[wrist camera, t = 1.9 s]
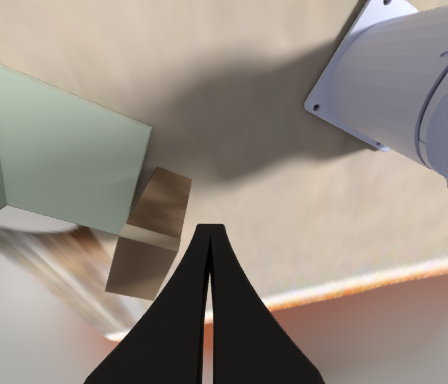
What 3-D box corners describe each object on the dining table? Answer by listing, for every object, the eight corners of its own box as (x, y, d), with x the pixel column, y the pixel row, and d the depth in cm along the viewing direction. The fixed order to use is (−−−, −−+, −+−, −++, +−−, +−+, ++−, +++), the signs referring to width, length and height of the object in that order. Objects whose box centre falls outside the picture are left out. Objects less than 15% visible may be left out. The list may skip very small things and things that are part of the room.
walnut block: (192, 179, 20) (178, 251, 13) (174, 222, 23) (153, 301, 16) (156, 166, 19) (118, 235, 12) (142, 212, 22) (104, 291, 15)
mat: (152, 127, 17) (146, 133, 16) (125, 231, 24) (118, 242, 22) (-20, 56, 14) (-48, 55, 13) (2, 197, 21) (-15, 208, 19)
